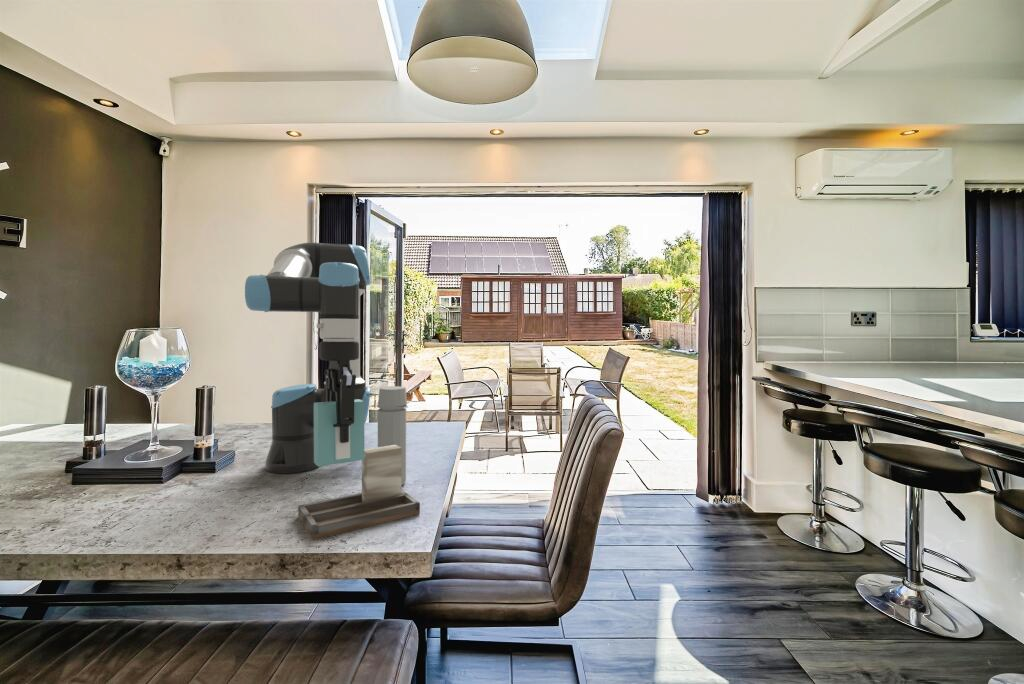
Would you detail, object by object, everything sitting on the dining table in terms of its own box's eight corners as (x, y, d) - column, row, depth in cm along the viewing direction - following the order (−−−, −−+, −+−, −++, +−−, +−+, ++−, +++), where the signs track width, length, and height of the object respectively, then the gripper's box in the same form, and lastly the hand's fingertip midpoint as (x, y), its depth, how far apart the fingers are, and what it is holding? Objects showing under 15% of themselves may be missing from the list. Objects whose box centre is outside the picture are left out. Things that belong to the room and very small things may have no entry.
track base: (298, 517, 100) (297, 456, 100) (396, 496, 113) (396, 442, 113) (313, 540, 90) (312, 472, 89) (419, 513, 103) (419, 454, 102)
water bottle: (400, 490, 117) (400, 390, 116) (371, 487, 119) (371, 389, 118) (414, 478, 126) (415, 385, 125) (387, 476, 128) (387, 384, 127)
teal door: (313, 462, 94) (313, 402, 94) (358, 455, 99) (358, 399, 99) (318, 466, 91) (318, 405, 91) (364, 459, 97) (364, 401, 96)
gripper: (309, 339, 99) (310, 449, 100) (331, 341, 86) (331, 468, 86) (346, 339, 104) (346, 445, 104) (371, 341, 90) (372, 462, 91)
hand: (339, 455), depth 95 cm, fingers closed on teal door, 3 cm apart
